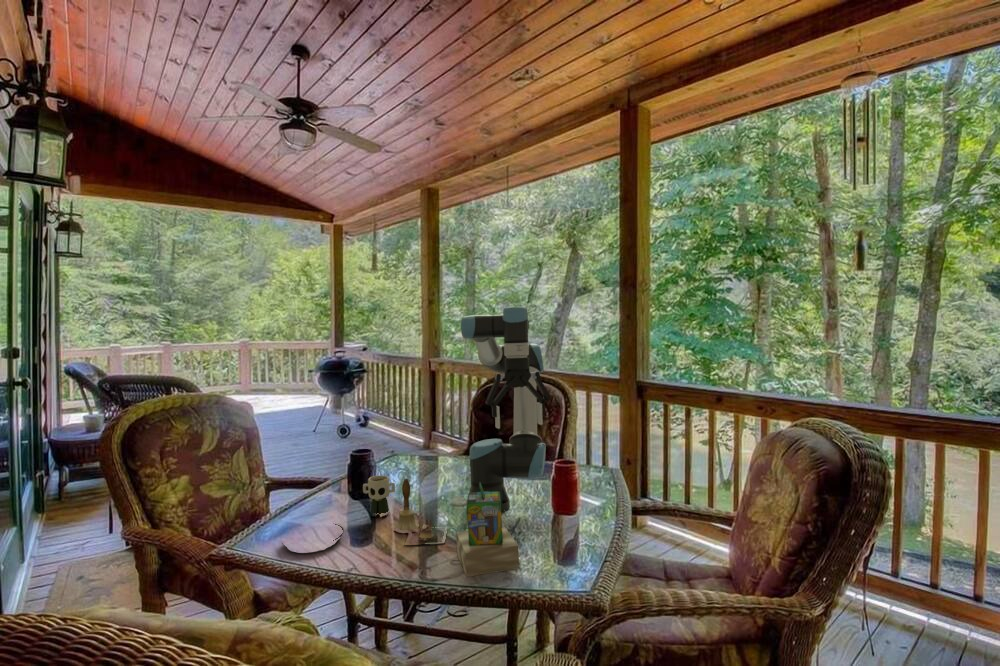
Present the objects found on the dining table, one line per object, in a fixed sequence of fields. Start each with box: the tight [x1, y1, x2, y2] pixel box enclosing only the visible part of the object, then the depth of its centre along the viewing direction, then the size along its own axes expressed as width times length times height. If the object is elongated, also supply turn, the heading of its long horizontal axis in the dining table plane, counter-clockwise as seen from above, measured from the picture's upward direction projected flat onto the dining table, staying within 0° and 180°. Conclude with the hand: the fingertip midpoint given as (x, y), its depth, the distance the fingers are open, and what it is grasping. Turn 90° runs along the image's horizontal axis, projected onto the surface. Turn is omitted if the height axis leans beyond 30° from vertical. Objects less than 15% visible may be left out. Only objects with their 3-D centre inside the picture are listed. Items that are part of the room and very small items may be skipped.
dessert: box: [419, 523, 448, 545], centre depth 155 cm, size 12×12×5 cm
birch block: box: [455, 525, 520, 578], centre depth 138 cm, size 14×14×6 cm
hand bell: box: [395, 478, 420, 530], centre depth 162 cm, size 8×8×16 cm
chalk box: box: [466, 483, 503, 546], centre depth 138 cm, size 9×9×15 cm
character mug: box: [362, 475, 396, 514], centre depth 174 cm, size 11×7×13 cm, turn 90°
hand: (519, 426), depth 156 cm, fingers open, 13 cm apart
